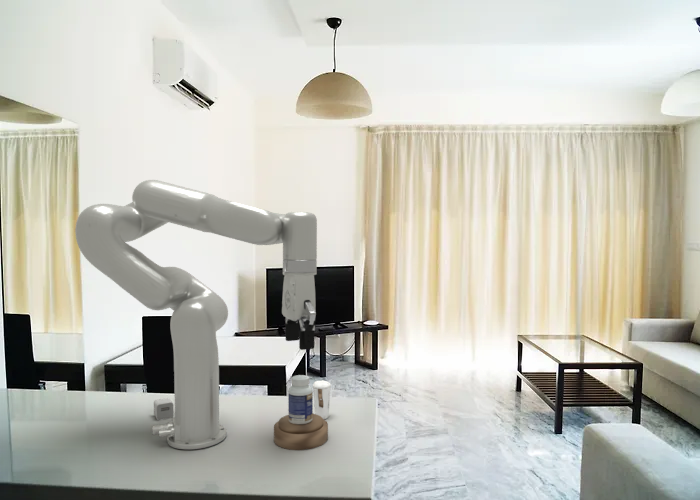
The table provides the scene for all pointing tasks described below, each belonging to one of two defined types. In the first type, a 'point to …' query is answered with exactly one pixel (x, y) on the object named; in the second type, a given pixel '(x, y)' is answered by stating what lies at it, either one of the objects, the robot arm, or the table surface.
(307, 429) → the walnut stand
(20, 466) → the table surface
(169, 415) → the usb wall charger
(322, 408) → the milkshake
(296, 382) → the pill bottle
